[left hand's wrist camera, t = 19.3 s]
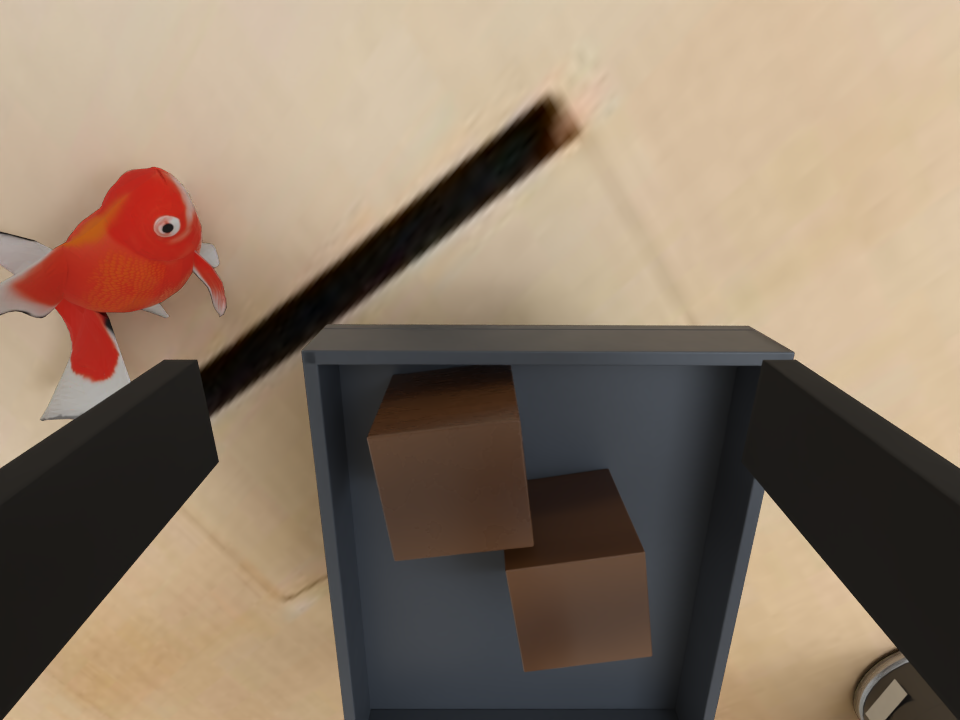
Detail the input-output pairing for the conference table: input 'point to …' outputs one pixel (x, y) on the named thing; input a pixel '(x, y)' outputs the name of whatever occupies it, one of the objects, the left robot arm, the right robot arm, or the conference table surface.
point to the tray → (548, 452)
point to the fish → (109, 278)
